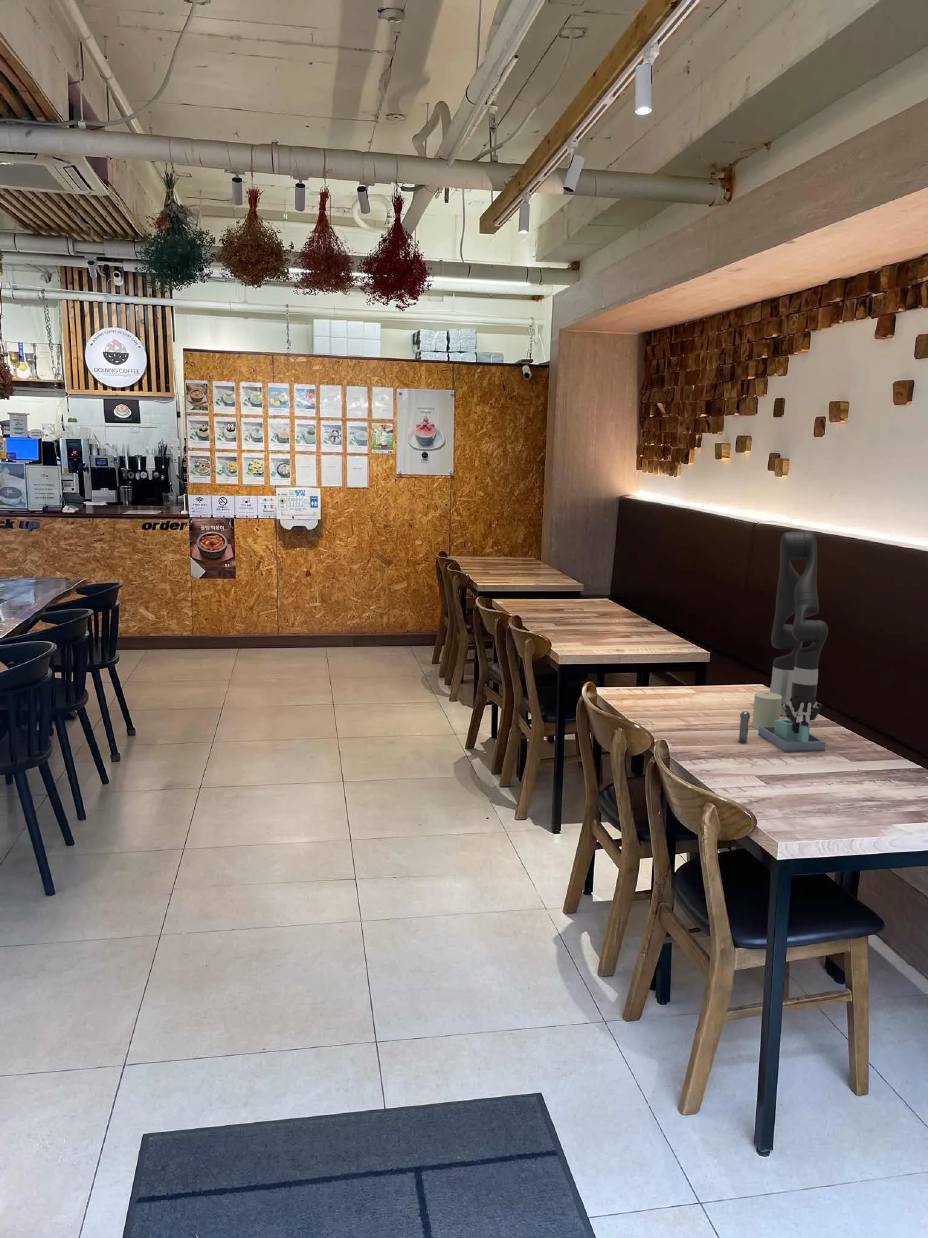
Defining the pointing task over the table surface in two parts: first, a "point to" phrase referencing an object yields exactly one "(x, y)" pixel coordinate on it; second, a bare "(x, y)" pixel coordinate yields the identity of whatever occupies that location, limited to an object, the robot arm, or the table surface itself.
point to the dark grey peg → (744, 726)
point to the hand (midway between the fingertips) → (799, 732)
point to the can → (766, 709)
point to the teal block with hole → (785, 730)
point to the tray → (791, 741)
